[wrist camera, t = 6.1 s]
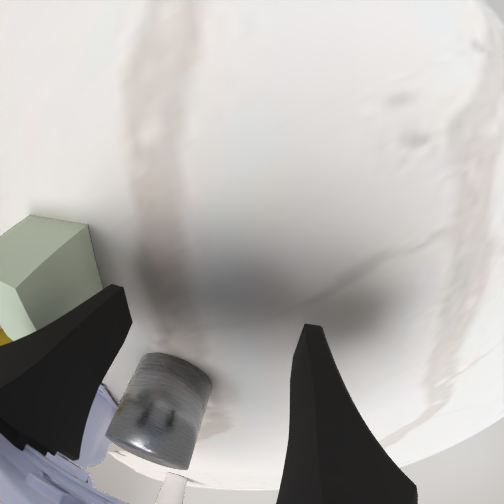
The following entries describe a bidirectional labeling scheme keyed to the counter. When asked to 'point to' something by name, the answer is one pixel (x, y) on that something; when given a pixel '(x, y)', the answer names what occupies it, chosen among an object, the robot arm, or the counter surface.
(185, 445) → the can
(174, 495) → the drinking glass
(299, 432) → the robot arm
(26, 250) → the block
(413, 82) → the counter surface
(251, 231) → the counter surface
